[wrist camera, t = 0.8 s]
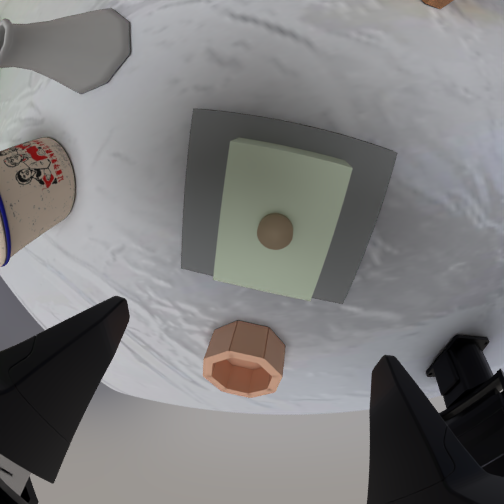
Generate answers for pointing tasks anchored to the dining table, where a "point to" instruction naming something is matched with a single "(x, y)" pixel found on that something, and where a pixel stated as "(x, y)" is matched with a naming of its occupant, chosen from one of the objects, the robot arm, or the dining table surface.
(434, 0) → the whiskey bottle
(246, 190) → the lid
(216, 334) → the bowl
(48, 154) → the teacup with lid
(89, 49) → the flask
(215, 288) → the dining table surface
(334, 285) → the mat
